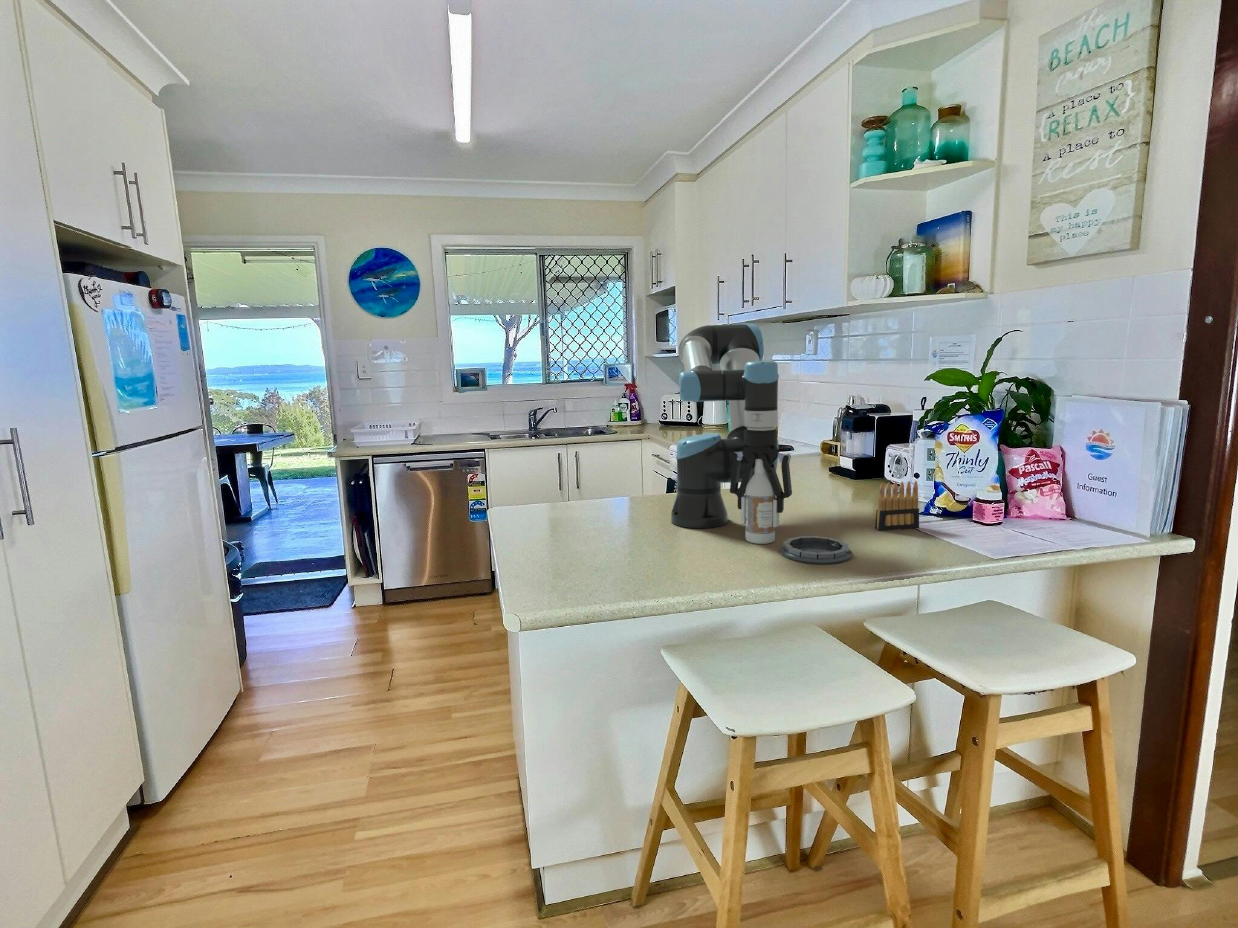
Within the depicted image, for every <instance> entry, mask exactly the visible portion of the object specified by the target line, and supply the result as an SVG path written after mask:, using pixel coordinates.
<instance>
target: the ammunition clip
mask: <svg viewBox="0 0 1238 928" xmlns="http://www.w3.org/2000/svg"><path fill="white" fill-rule="evenodd" d="M918 485H919V484H918V481H917V480H915V481H914V483H913V485H912V486H911V481H907V483H906V487H905V484H904V481H901V482H900V485H899V486H898V484H897V482H896V481H894V483H893V487H892V485H891V483H890V481H889V482H887V485H886V487H885V486H884V482H881V483H880V486H879V490H878V491H879V492H878V499H877V509H876V513H875V526H874V529H875V530H877V531H878V532H885V531H897V530H898V531H901V530H915V529H919V528H920V508H919V486H918ZM898 487H899V489H898ZM885 488H886V489H885Z"/></svg>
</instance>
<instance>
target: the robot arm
mask: <svg viewBox="0 0 1238 928" xmlns="http://www.w3.org/2000/svg"><path fill="white" fill-rule="evenodd" d="M763 339H764V337H763V334H762V331H761V329H760V327H759V326H758V325H757V324H754V323H753V324H752V323H741V324H713V325H711V324H709V325H708V324H706V325H702V326H699V327H697V328H695V329H692V330H691V331H690V332H688V333H687V334H685V336H683V338H682V339H681V341H680V343H679V345H678V357H679V360H680V361H681V363H682V364H683V367H684V371H681V372H680V373H679V378H678V379H679V387H678V388H679V399H680V400H681V401H682V402H692V403H697V402H723V401H727V402H728V409H729V419H730V427H731V430H730V431H728V433H727V435H726V438H722V436H721V434H720V433H702V434H696V435H691V436H686V437H684V438H681V439H680V440H678V442H677V445H676V455H675V459H676V497H675V500H674V503H673V506H672V508H671V513H670V521H671V523H672V524H673V525H675V526H679V527H684V528H691V529H692V528H693V529H707V528H708V529H709V528H716V527H717V528H718V527H720V526H724V525H725V524H726V523H728V511H727V508H726V504H725V502H724V499H723V496H722V492H721V491H722V490H721V489H722V486H721V485H722V483H724V484H725V483H726V484H727V483H730V486H729V493H731V494H734V495H736V496H737V509H738V510H741V521H740V522H741V525H745V493H746V487H747V484H748V482H749V480H750V479H751V477H752V476H753V474H754V473H755V472H754V468H755V459H762V461H763V467H764V469H766V472H767V474H768V476H769V478H770V481H771V484H772V487H773V489H774V492H775V495H776V498H775V499H774V500H773V527H775V528H777V527H778V526H779V525H780V514H782V513H783V512H784V508H785V507H784V503H785V501H784V500H785V499H788V498H789V497H791V496H792V494H793V489H792V480H791V479H792V477H791V470H790V463H791V459H792V458H791V457H792V455H791V454H790V453H787V454H786V453H781V452H780V450H779V440H778V430H777V427H778V425H779V424H778V414H779V413H778V402H779V401H778V399H779V398H778V394H779V393H778V392H779V391H778V388H779V378H780V377H779V376H780V375H779V367H778V366H779V365H778V363H777V362H776V361H774V360H766V361H765V360H764V361H763V358H764V354H765V353H764V350H765V349H764V340H763ZM713 365H719V368H720V369H717V370H716V369H714V366H713ZM778 459H779V460H778ZM778 461H779V463H780V464H781V467H780V468H781V475H782V477H781V478H782V484H781V482H780V480H779V476H778V473H777V469H778ZM739 483H740V485H739ZM782 485H783V488H782Z"/></svg>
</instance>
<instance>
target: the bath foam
mask: <svg viewBox="0 0 1238 928" xmlns="http://www.w3.org/2000/svg"><path fill="white" fill-rule="evenodd" d="M754 472H755V473H754V474H753V476H752V477H751V479H750V480H749V482H748V484H747V487H746V491H745V492H746V493H745V494H744V495H745V524H744V525H745V526H744V528H745V530H744V531H745V532H744V533H745V534H744V535H745V536H744V537H745V540H746V541H747V542H749V543H752V544H757V545H765V544H766V545H768V544H771V543H773V542H775V540H776V527H773V500H774V499H775V498H776V495H775V492H774V489H773V487H772V484H771V481H770V478H769V476H768V474H767V472H766V469H764V467H763V461H762V459H755V468H754Z"/></svg>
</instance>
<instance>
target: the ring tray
mask: <svg viewBox="0 0 1238 928" xmlns="http://www.w3.org/2000/svg"><path fill="white" fill-rule="evenodd" d="M780 554H781V556H783V557H784V558H786V559H788V560H790V561H795V562H798V563H801V564H802V563H803V564H809V565H810V564H811V565H834V564H835V565H836V564H842V563H846V562H848V561H849V560H851V559H852V556H853V553H852V550H851V548H850V545H848V543H846V542H844V541H842V540H840V539H836V538H833V537H827V536H826V537H825V536H819V535H817V536H816V535H804V536H796V537H791V538H788V539H786V540H784V542H783V544H782V546H780Z"/></svg>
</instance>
